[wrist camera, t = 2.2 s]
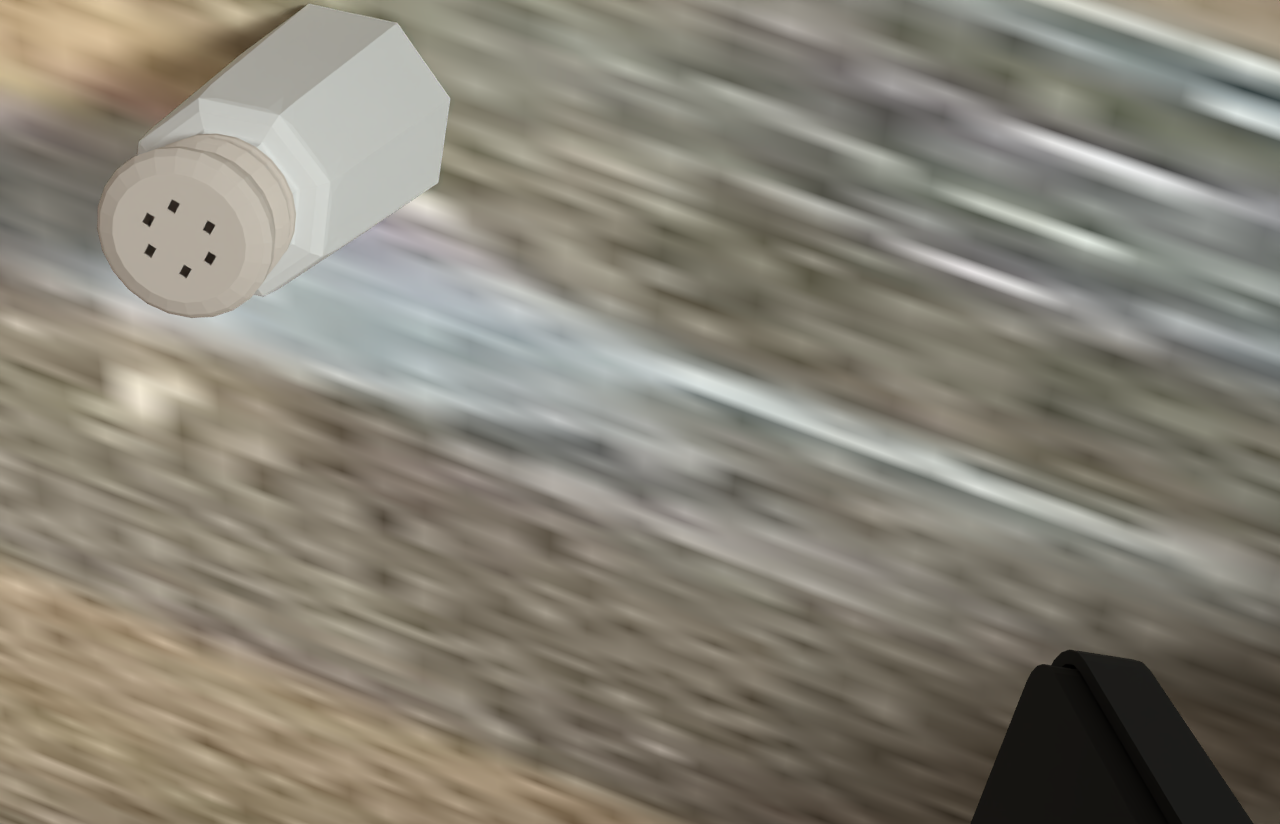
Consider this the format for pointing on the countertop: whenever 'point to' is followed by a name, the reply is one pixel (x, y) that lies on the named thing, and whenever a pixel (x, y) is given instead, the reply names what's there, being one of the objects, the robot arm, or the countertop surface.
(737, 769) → the countertop surface
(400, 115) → the pepper shaker
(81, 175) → the countertop surface
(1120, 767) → the robot arm
